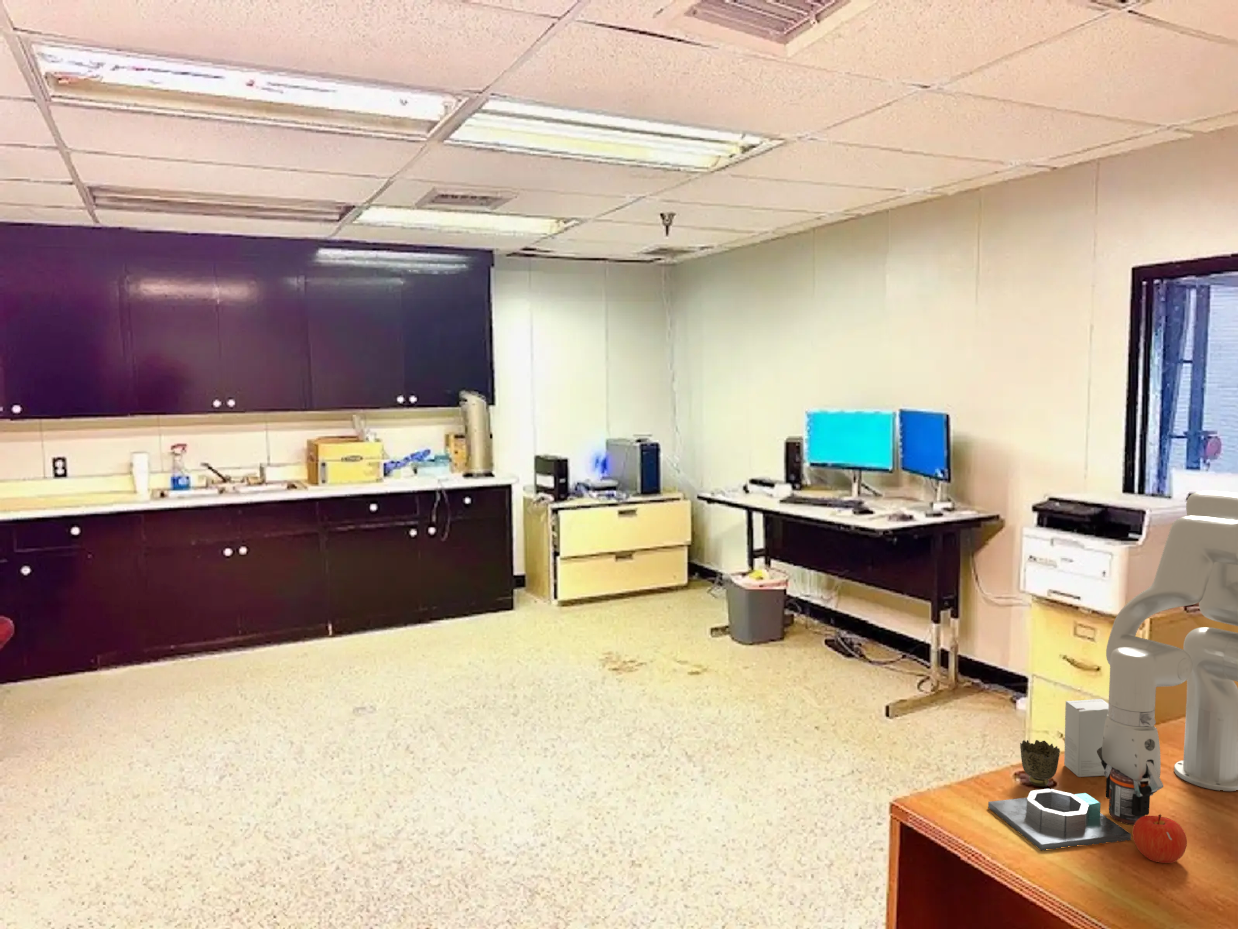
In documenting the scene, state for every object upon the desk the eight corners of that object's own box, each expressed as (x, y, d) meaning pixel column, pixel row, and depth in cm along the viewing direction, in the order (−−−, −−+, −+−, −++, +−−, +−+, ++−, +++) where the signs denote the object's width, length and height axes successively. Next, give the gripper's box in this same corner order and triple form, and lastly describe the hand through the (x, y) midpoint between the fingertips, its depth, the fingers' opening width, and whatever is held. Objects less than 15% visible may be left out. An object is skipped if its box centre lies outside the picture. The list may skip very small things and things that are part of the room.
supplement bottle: (1110, 807, 170) (1112, 751, 169) (1146, 816, 167) (1148, 759, 166) (1106, 820, 165) (1108, 763, 164) (1142, 829, 162) (1145, 771, 161)
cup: (1050, 776, 184) (1051, 739, 183) (1064, 792, 176) (1066, 754, 176) (1013, 775, 184) (1014, 738, 184) (1026, 791, 177) (1027, 753, 176)
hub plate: (1070, 798, 174) (1071, 778, 174) (1130, 840, 158) (1131, 818, 158) (988, 807, 171) (988, 787, 170) (1041, 851, 155) (1042, 828, 155)
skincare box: (1099, 764, 189) (1102, 697, 187) (1116, 777, 183) (1119, 708, 181) (1061, 765, 189) (1064, 698, 187) (1077, 778, 183) (1080, 709, 181)
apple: (1194, 872, 148) (1196, 827, 147) (1142, 868, 149) (1144, 824, 148) (1173, 847, 156) (1175, 804, 155) (1124, 844, 157) (1126, 801, 156)
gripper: (1185, 730, 156) (1180, 827, 158) (1115, 696, 173) (1111, 783, 175) (1148, 734, 155) (1144, 831, 157) (1081, 699, 172) (1077, 787, 174)
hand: (1126, 805), depth 166 cm, fingers closed on supplement bottle, 6 cm apart
